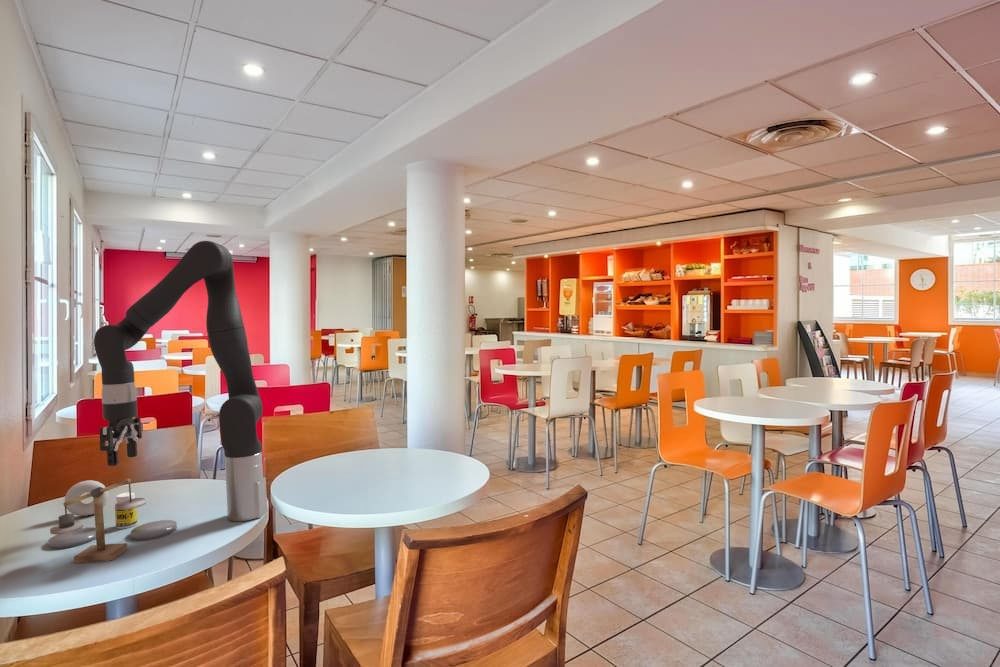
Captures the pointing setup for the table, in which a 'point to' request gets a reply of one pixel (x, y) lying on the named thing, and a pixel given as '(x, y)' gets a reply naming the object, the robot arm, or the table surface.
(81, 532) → the dish low side
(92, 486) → the donut
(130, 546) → the table surface
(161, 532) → the dish high side
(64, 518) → the balance
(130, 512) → the supplement bottle
